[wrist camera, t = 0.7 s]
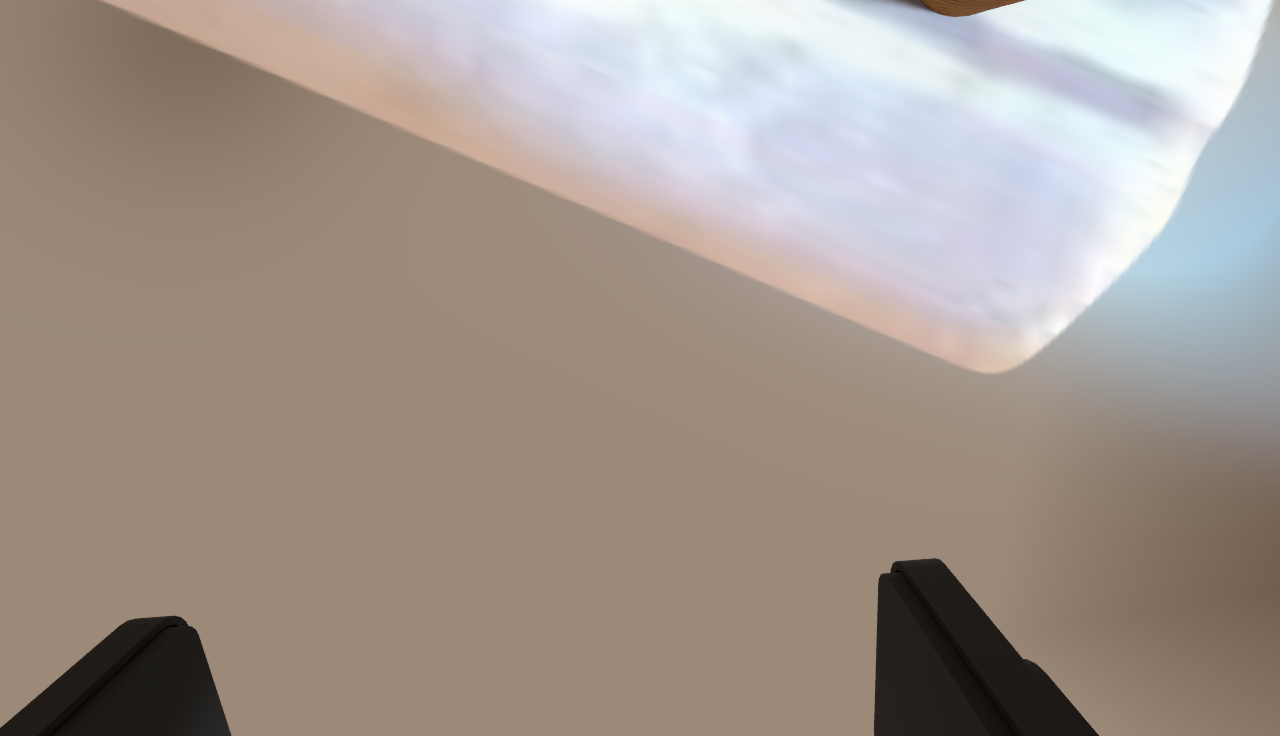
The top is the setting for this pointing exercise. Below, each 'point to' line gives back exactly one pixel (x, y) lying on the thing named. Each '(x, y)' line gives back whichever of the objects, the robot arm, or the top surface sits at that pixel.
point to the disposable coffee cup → (965, 6)
